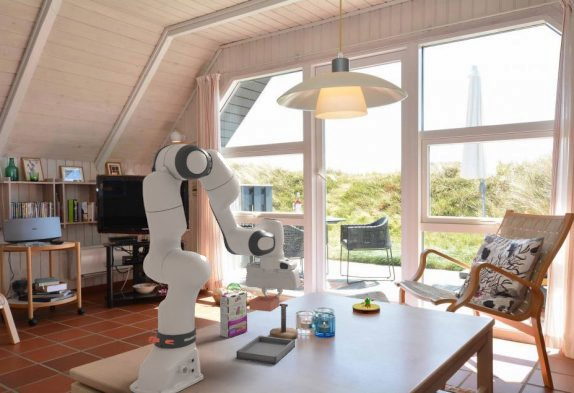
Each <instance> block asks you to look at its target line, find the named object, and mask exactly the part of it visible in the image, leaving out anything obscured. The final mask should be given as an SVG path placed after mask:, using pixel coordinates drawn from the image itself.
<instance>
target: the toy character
mask: <svg viewBox="0 0 574 393" xmlns="http://www.w3.org/2000/svg"><path fill="white" fill-rule="evenodd" d="M371 302H375V300H374V299H371V300H370V298H368V297H367V298H365V300H364V302H363V301H362V302H361V303H360V304H361V305H364V308H366V307H367V308H368V307H369V308H371V306H372V304H371Z"/></svg>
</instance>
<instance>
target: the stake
mask: <svg viewBox="0 0 574 393" xmlns="http://www.w3.org/2000/svg"><path fill="white" fill-rule="evenodd" d="M279 307H280V327H275V328H272V329H271V330H269V337H274V338H282V339H290V340H297V339H298V330H297V329H295V328H292V327H287V308H288V303H279Z"/></svg>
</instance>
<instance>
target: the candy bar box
mask: <svg viewBox="0 0 574 393" xmlns="http://www.w3.org/2000/svg"><path fill="white" fill-rule="evenodd" d="M247 292H248V291H243V290H238V291H232V292H229V293H225V294H224V293H223V294H221V295H219V314H220V315H219V317H220V318H219V320H220V322H219V324H220V325H219V326H220V327H219V328H220V330H219V331H220V337H223V338H226V339H230V338H233V337H236V336H239V335H242V334H244V333H247V332H248V293H247Z"/></svg>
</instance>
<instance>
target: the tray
mask: <svg viewBox="0 0 574 393" xmlns="http://www.w3.org/2000/svg"><path fill="white" fill-rule="evenodd" d="M294 348H296V339H294V340H290V339H282V338H274V337H270V336H266V335H265V336H264V335H258V336H256V337H255V338H253V339H252V340H251V341H249V342H248V343H246V344H245V345H243V346H241V348H239V349H238V350H236V351H235V352H236V356H235V357H236V359H237V360H242V359H243V360H242V361H249V360H250V361H251V362H256V361H257V362H258V363H264V364H271V365H277V364H278V363H279V362H281V360H283V358H284V357H286V356H287V355H288V354H289V353H291V351H292V350H293V349H294Z"/></svg>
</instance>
